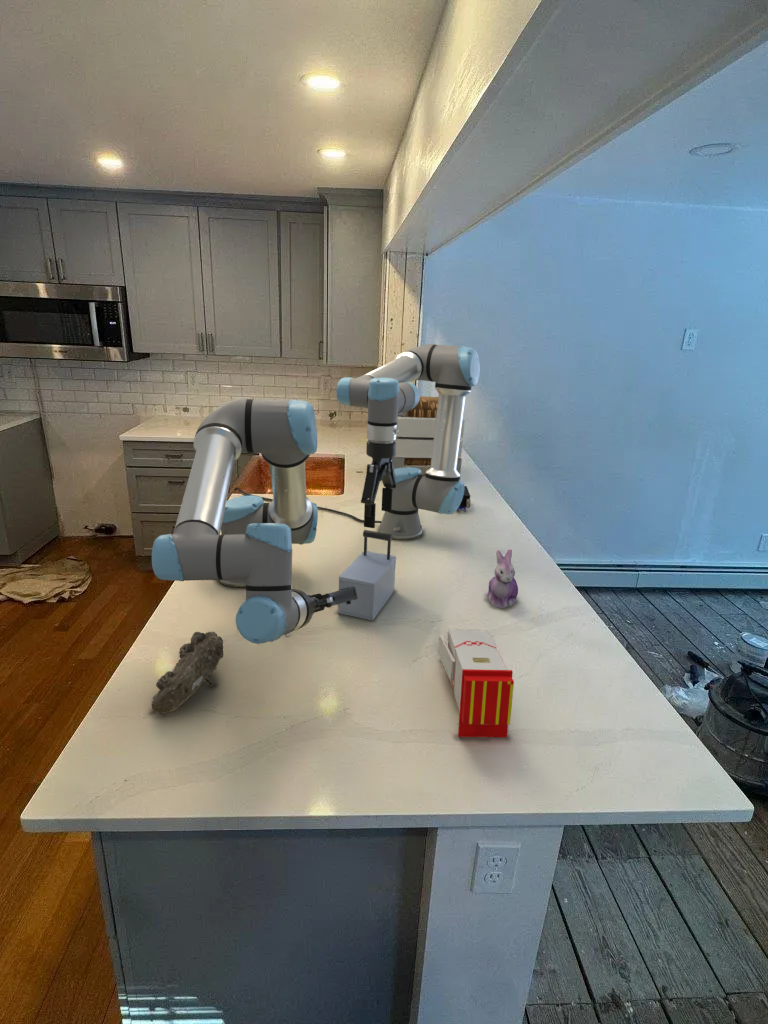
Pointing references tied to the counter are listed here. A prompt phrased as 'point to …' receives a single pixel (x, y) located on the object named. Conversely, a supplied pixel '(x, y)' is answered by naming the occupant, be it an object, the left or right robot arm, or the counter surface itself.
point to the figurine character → (465, 500)
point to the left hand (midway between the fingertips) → (320, 600)
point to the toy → (478, 682)
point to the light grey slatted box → (419, 435)
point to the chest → (369, 596)
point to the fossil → (188, 671)
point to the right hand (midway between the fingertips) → (378, 518)
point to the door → (370, 562)
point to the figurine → (503, 582)
